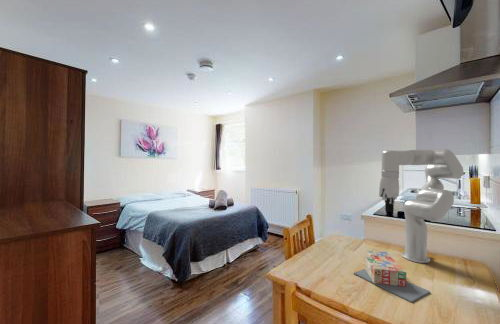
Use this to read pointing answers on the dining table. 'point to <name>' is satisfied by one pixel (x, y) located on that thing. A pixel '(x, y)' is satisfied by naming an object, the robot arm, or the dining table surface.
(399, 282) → the stack of blocks
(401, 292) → the mat
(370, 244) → the dining table surface
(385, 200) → the robot arm
